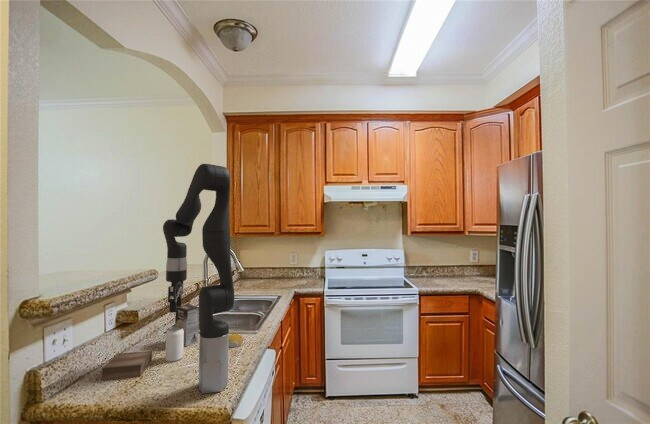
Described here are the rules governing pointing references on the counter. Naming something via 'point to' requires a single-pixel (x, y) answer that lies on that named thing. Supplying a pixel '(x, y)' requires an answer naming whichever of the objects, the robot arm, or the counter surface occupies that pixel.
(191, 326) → the coffee box
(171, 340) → the can
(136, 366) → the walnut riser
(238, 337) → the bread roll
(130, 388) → the counter surface
